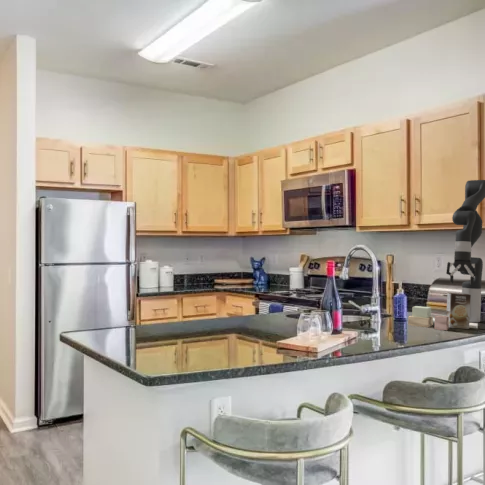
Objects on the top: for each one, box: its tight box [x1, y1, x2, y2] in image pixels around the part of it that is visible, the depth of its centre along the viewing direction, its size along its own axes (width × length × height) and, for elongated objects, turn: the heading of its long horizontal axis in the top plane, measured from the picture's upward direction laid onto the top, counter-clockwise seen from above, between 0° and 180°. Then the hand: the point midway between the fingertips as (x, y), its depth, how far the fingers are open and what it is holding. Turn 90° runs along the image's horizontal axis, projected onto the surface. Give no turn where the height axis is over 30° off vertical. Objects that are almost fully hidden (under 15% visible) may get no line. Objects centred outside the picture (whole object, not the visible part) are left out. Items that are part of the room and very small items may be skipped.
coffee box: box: [445, 292, 471, 330], centre depth 254 cm, size 9×6×16 cm
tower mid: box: [411, 305, 432, 318], centre depth 257 cm, size 7×7×4 cm
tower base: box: [407, 315, 434, 328], centre depth 257 cm, size 9×9×4 cm
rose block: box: [434, 315, 450, 331], centre depth 246 cm, size 5×5×6 cm
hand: (461, 284), depth 264 cm, fingers open, 8 cm apart
